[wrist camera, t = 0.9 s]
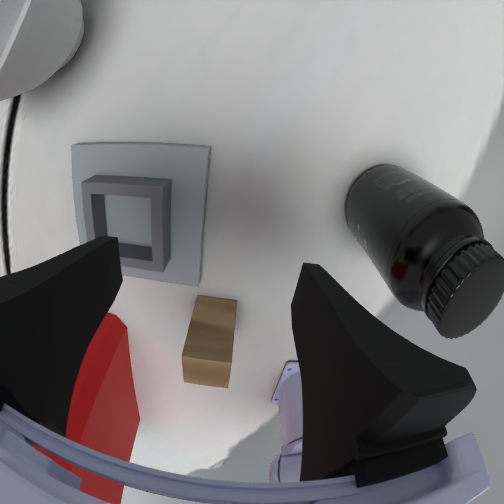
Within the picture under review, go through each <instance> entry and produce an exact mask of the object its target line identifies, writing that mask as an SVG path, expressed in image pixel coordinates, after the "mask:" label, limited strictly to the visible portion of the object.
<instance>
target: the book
mask: <svg viewBox="0 0 504 504" xmlns="http://www.w3.org/2000/svg"><path fill="white" fill-rule="evenodd" d="M139 421H140V417H139V412H138V407H137V401H136V396H135V390H134V383H133V377H132V370H131V362H130V353H129V344H128V333H127V327H126V326H125V324H124V323H123V322H122V321H121V320H120V319H119V318H118V316H117V315H114V314H111V313H108V312H107V314H106V316H105V317H104V319H103V321H102V322H101V324H100V326H99V328H98V329H97V331H96V333H95V335H94V337H93V338H92V340H91V342H90V344H89V346H88V348H87V351H86V353H85V356H84V359H83V361H82V364H81V367H80V370H79V373H78V376H77V380H76V383H75V387H74V391H73V395H72V399H71V404H70V409H69V415H68V422H67V430H66V436H65V438H67V439H69V440H71V441H73V442H76V443H78V444H80V445H83V446H85V447H88V448H90V449H93V450H95V451H98V452H100V453H103V454H106V455H109V456H112V457H115V458H118V459H121V460H124V461H127V462H129V461H130V457H131V453H132V449H133V444H134V440H135V437H136V433H137V429H138V425H139ZM33 445H34V444H33ZM34 447H35V449H36V450H38V451H39V452H41V453H42V454H44V455H46V456H47V457H49V458H51V459H52V460H53V461H54V462H56V463H57V464H58V465H60V466H61V467H63V468H64V469H66V470H68V471H69V472H71V473H73V474H75V475H77V476H78V477H80V478H81V480H82V481H81V484H80V491H81V492H83V493H86V494H88V495H90V496H93V497H95V498H98V499H100V500H103V501H105V502H108V503H111V504H121V498H122V493H123V488H124V485H122V484H119V483H116V482H113V481H110V480H108V479H105V478H102V477H100V476H97V475H95V474H92V473H90V472H87V471H85V470H83V469H80V468H78V467H76V466H74V465H71V464H69V463H67V462H65V461H63V460H61V459H59V458H57V457H55V456H53V455H52V454H50V453H48V452H46V451H44V450H42V449H41V448H39V447H37V446H36V445H34Z"/></svg>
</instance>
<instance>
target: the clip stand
mask: <svg viewBox="0 0 504 504" xmlns="http://www.w3.org/2000/svg"><path fill="white" fill-rule="evenodd" d="M210 151H211V146H201V145H188V144H172V143H147V142H100V143H78V144H75V145H71V152H72V179H73V192H74V203H75V212H76V221H77V228H78V235H79V241H80V245H82V244H84V243H86V242H89V241H91V240H93V239H96V238H99V237H102V236H112V237H118V244H119V254H120V263H121V271H122V275H127V276H132V277H138V278H144V279H151V280H157V281H163V282H170V283H177V284H183V285H190V286H197V287H199V285H200V281H201V268H202V249H203V232H204V218H205V205H206V193H207V182H208V171H209V161H210Z"/></svg>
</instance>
